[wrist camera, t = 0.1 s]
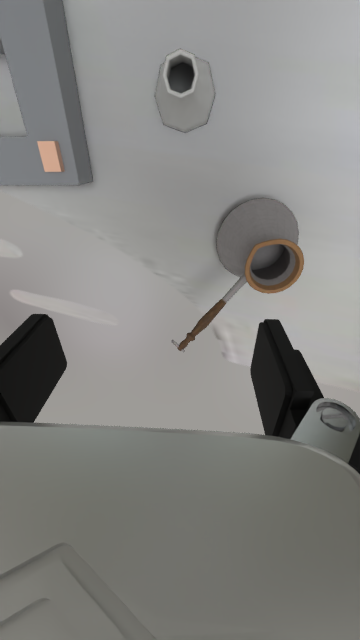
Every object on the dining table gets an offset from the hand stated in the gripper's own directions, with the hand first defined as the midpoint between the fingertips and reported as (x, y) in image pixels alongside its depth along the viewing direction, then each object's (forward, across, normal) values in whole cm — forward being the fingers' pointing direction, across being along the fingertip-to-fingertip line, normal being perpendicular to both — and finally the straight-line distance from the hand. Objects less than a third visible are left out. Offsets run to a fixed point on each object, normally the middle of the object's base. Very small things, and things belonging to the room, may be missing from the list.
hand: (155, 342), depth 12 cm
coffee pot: (+31, -7, +7) cm, 33 cm away
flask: (+32, 0, -13) cm, 34 cm away
